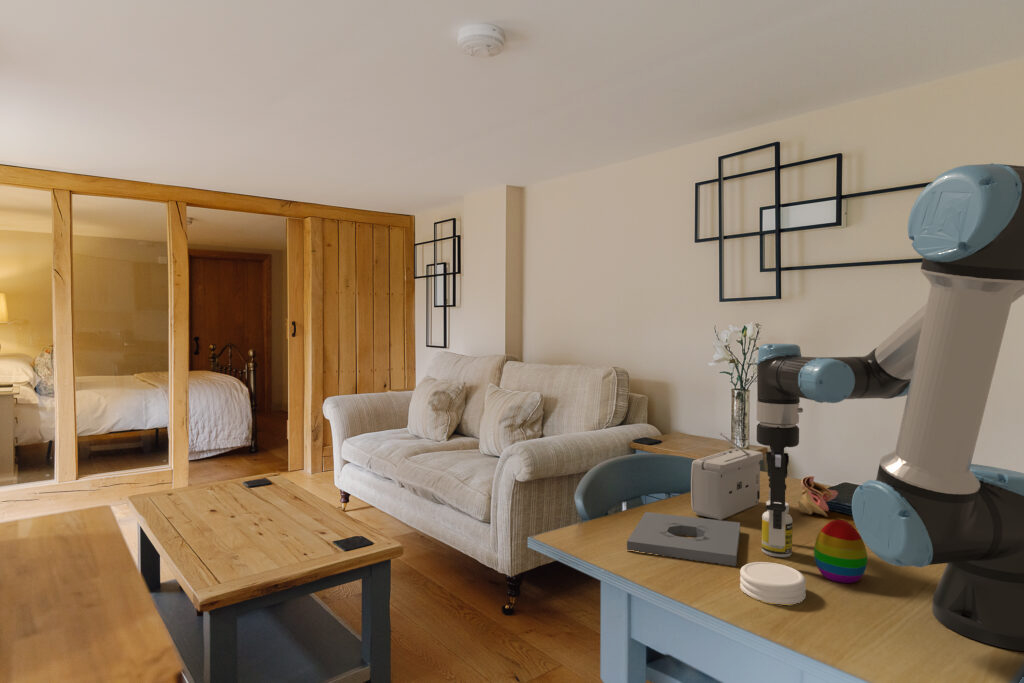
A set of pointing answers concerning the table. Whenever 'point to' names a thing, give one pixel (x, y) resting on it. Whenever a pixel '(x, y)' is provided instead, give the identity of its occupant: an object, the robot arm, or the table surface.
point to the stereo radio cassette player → (725, 482)
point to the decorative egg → (840, 552)
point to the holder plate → (709, 545)
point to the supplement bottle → (787, 550)
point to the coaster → (773, 583)
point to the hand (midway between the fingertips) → (776, 532)
